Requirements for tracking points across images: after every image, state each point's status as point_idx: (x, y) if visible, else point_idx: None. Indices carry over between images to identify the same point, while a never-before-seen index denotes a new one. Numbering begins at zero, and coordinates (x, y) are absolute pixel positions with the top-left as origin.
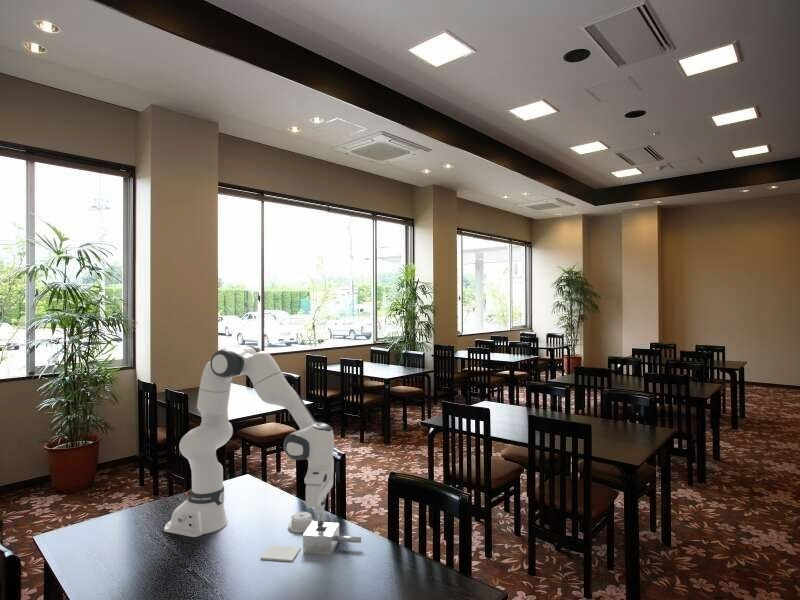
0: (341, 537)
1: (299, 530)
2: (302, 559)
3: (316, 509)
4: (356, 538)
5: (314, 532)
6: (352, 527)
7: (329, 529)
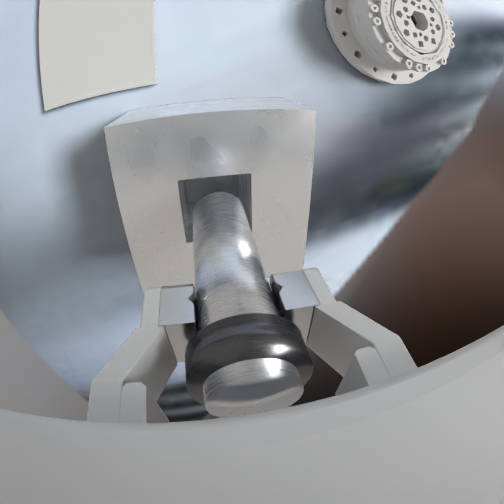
0: None
1: (331, 19)
2: (77, 139)
3: (145, 318)
4: None
5: (158, 185)
6: (375, 239)
7: None
